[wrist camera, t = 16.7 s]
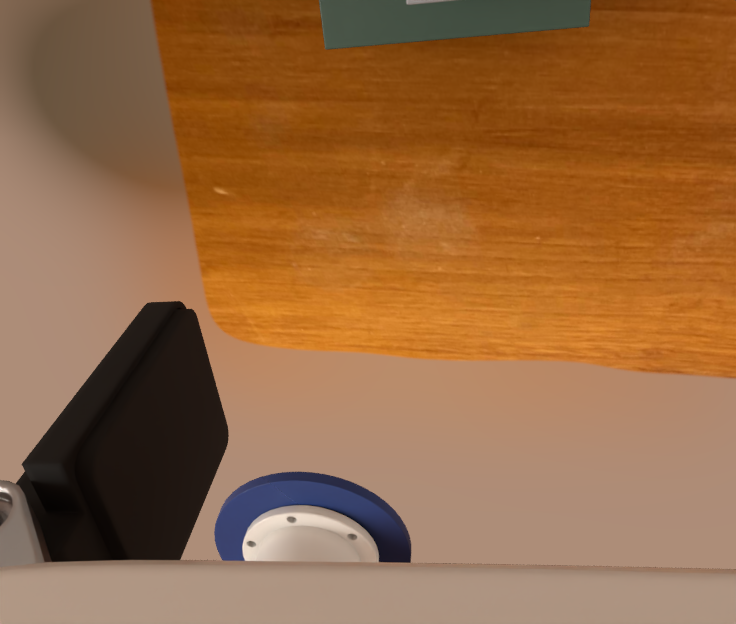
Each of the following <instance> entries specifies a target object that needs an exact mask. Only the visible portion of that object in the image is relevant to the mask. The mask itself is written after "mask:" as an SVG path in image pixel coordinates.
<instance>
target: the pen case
mask: <svg viewBox="0 0 736 624" xmlns="http://www.w3.org/2000/svg"><path fill="white" fill-rule="evenodd" d="M444 1H454V0H406V3H407V5H413V4H423V3H434V2H444Z"/></svg>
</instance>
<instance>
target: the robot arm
mask: <svg viewBox="0 0 736 624" xmlns="http://www.w3.org/2000/svg"><path fill="white" fill-rule="evenodd" d="M227 443H228V426H227V422H226V419H225V415H224V412H223V408H222V405H221V401H220V397H219V394H218V390H217V387H216V383H215V380H214V376H213V372H212V369H211V365H210V362H209V358H208V354H207V351H206V347H205V344H204V340H203V337H202V333H201V329H200V326H199V322H198V319H197V316H196V313H195V312H194V310H192V309H186V307H185V305H184V304H183V303H182V302H180V301H177V302H176V301H174V302H151V303H147V304H146V305H145V306H144V307H143V308H142V310H141V311H140V312H139V313H138V315H137V316H136V317H135V319H134V320H133V321H132V322H131V324H130V325H129V326H128V328H127V329H126V330H125V332H124V333H123V334H122V335H121V337H120V338H119V339H118V340H117V342H116V343H115V344H114V346H113V347H112V348H111V350H110V351H109V352H108V354H107V355H106V356H105V358H104V359H103V360H102V361H101V362H100V364H99V365H98V366H97V368H96V369H95V370H94V371H93V373H92V374H91V375H90V377H89V378H88V379H87V381H86V382H85V383H84V385H83V386H82V387H81V388H80V390H79V391H78V392H77V393H76V395H75V396H74V397H73V399H72V400H71V401H70V402H69V404H68V405H67V406H66V408H65V409H64V410H63V412H62V413H61V414H60V415H59V417H58V418H57V419H56V421H55V422H54V423H53V425H52V426H51V427H50V428H49V430H48V431H47V432H46V434H45V435H44V436H43V438H42V439H41V440H40V441H39V443H38V444H37V445H36V447H35V448H34V449H33V450H32V452H31V453H30V454H29V455H28V457H27V458H26V459H25V461H24V462H23V463H22V466H23V467H24V470H25V472H24V474H23V475H22V476H21V478H20V479H19V480H18V481H17V483H16V484H14V483H12V482H10V481H1V480H0V624H736V569H701V568H656V567H655V568H654V567H653V568H652V567H612V566H561V565H557V566H556V565H506V564H447V563H445V564H444V563H443V564H439V563H385V562H379V553H378V548H377V546H376V544H375V542H374V540H373V538H372V537H371V536H370V535H369V533H368V532H367V531H366V530H365V529H364V528H363V527H361V526H360V525H359V524H358V523H357V522H355V521H353V520H352V519H350V518H348V517H347V516H345V515H342V514H340V513H338V512H335V511H332V510H329V509H325V508H322V507H316V506H309V505H292V506H284V507H279V508H276V509H272V510H270V511H268V512H266V513H264V514H261V515H260V516H259V517H258V518H256V519H255V520H254V521H253V522H252V523H251V525H250V526H249V527H248V529H247V532H246V535H245V537H244V541H243V546H242V550H243V557H244V559H245V561H216V560H213V561H212V560H180V559H181V556H182V554H183V551H184V549H185V547H186V544H187V542H188V539H189V537H190V535H191V532H192V530H193V527H194V525H195V522H196V520H197V518H198V515H199V513H200V510H201V508H202V506H203V503H204V501H205V498H206V496H207V494H208V491H209V489H210V486H211V484H212V481H213V479H214V477H215V474H216V471H217V469H218V467H219V464H220V462H221V460H222V457H223V455H224V453H225V450H226V447H227Z"/></svg>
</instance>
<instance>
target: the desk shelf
mask: <svg viewBox="0 0 736 624" xmlns="http://www.w3.org/2000/svg"><path fill="white" fill-rule="evenodd" d="M319 4H320V12H321V20H322V28H323V36H324V43H325V49H338V48H349V47H361V46H372V45H384V44H395V43H407V42H418V41H430V40H441V39H453V38H464V37H475V36H487V35H498V34H510V33H521V32H533V31H544V30H556V29H567V28H579V27H588V26H589V20H590V7H591V0H454V1H444V2H434V3H423V4H413V5H407V3H406V0H319Z"/></svg>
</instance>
